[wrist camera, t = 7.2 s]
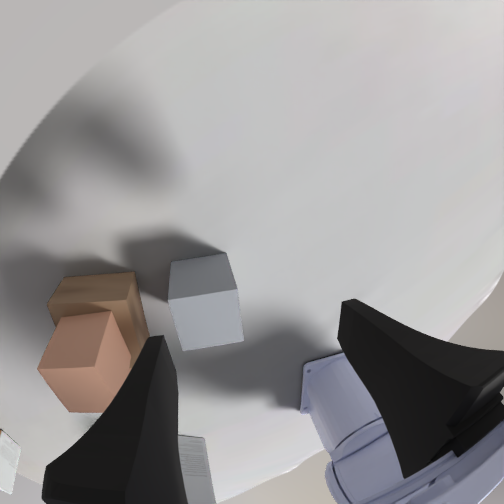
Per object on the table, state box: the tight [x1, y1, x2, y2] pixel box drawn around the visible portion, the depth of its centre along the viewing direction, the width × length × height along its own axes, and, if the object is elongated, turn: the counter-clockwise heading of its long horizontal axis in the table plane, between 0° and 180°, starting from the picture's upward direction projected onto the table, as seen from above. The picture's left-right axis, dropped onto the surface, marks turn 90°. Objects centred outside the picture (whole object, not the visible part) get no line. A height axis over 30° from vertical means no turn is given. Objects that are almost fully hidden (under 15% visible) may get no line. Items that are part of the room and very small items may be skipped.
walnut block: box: [47, 272, 150, 368], centre depth 19 cm, size 6×6×4 cm
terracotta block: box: [37, 311, 131, 413], centre depth 15 cm, size 4×4×5 cm
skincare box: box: [178, 435, 216, 504], centre depth 25 cm, size 6×4×12 cm
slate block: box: [168, 253, 244, 351], centre depth 19 cm, size 4×4×5 cm
